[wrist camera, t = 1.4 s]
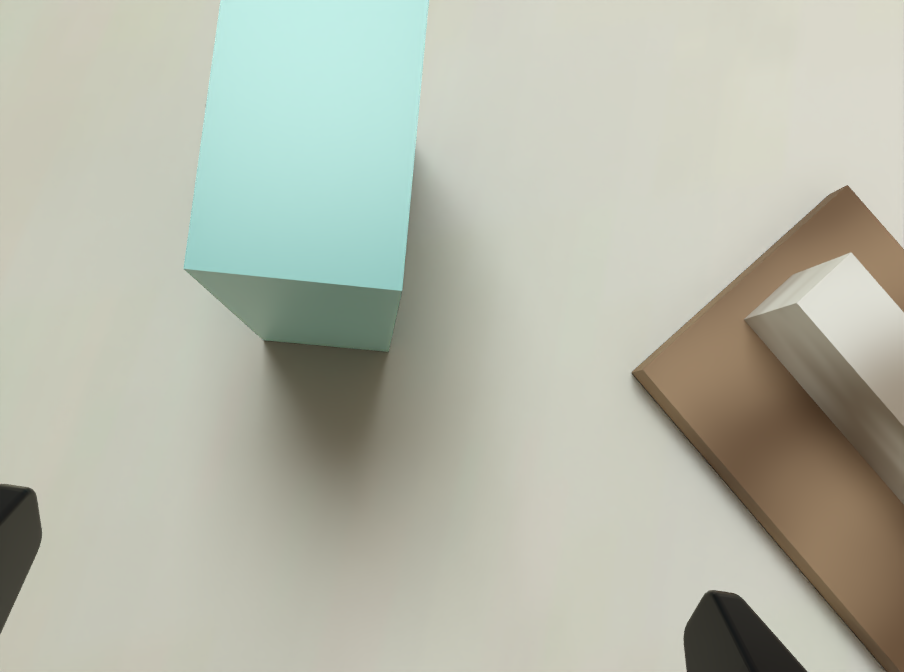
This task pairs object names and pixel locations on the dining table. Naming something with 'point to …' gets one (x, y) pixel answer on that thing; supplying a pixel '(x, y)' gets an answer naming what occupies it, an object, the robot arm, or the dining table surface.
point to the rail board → (809, 407)
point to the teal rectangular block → (309, 167)
